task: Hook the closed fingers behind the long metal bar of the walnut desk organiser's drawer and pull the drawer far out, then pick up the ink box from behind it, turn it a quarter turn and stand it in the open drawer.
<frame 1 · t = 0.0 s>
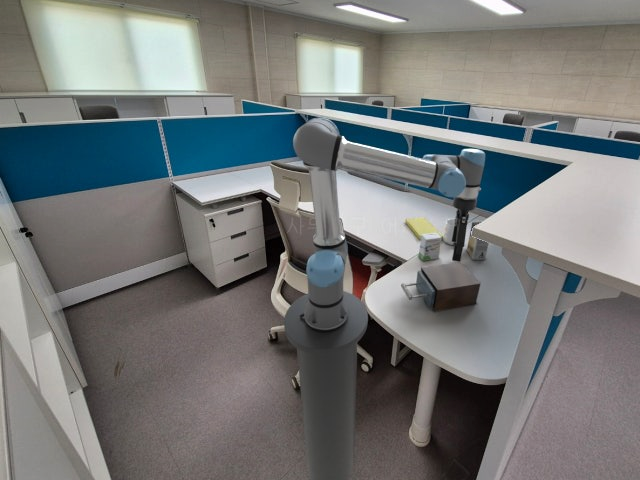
hand: (455, 250, 110), 22 cm above the table, tool pointing down, fingers open, 13 cm apart
yellow flat slab: (423, 231, 170), on the table
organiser: (446, 294, 120), on the table
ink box: (428, 257, 145), on the table
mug: (450, 240, 161), on the table
drawer: (433, 287, 117), point 5 cm above the table, slide at 0.5 cm
coffee box: (475, 255, 149), on the table
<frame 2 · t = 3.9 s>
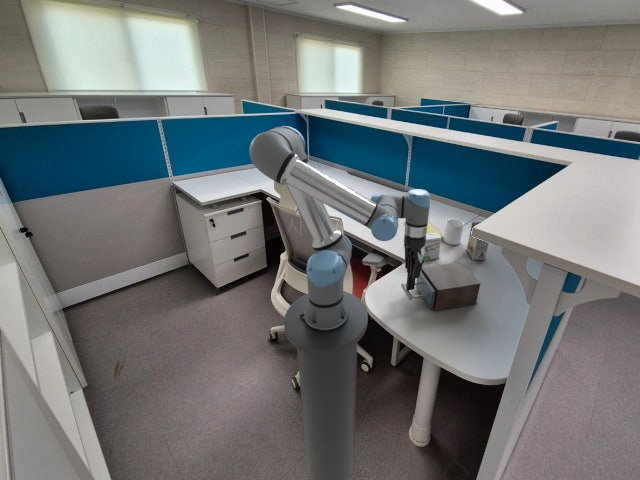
hand: (410, 288, 114), 6 cm above the table, tool pointing down, fingers closed
drawer: (434, 287, 117), point 5 cm above the table, slide at 0.4 cm, touching gripper
everything else where it was.
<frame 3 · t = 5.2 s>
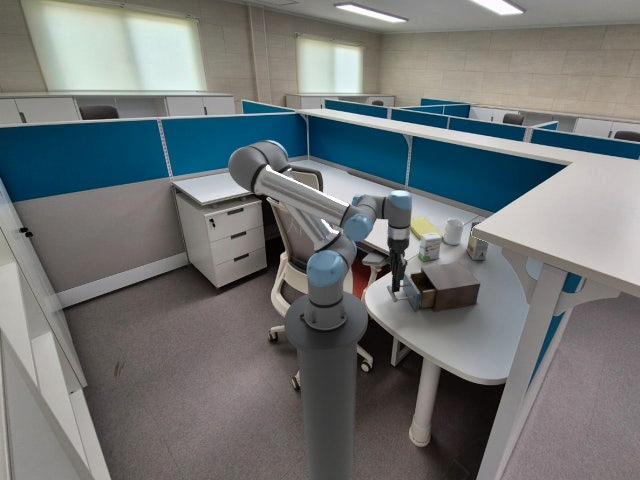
hand: (395, 290, 112), 6 cm above the table, tool pointing down, fingers closed
drawer: (420, 289, 115), point 5 cm above the table, slide at 6.3 cm, touching gripper
everything else where it was.
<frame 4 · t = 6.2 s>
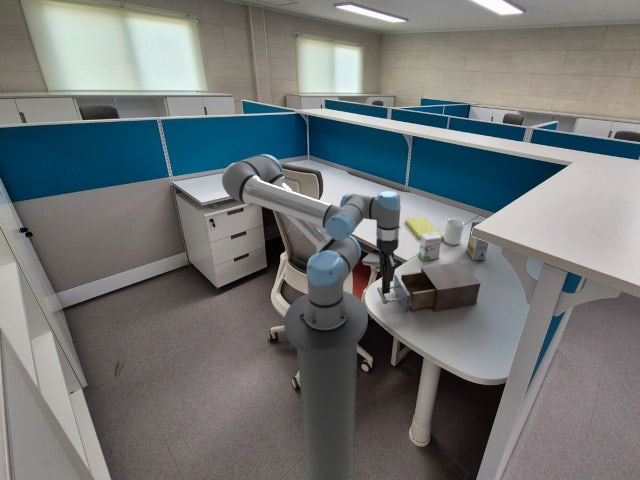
hand: (385, 292, 111), 6 cm above the table, tool pointing down, fingers closed
drawer: (410, 290, 114), point 5 cm above the table, slide at 10.2 cm, touching gripper
everything else where it was.
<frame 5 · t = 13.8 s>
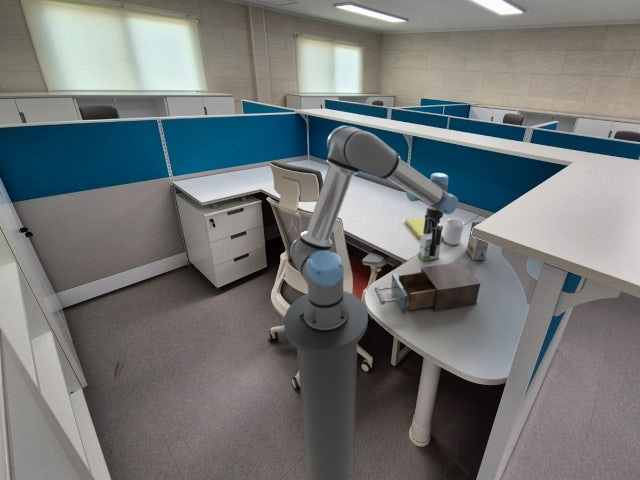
hand: (429, 252, 144), 3 cm above the table, tool pointing down, fingers closed on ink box, 5 cm apart
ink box: (428, 257, 145), on the table, touching gripper
drawer: (408, 291, 114), point 5 cm above the table, slide at 11.1 cm
everything else where it was.
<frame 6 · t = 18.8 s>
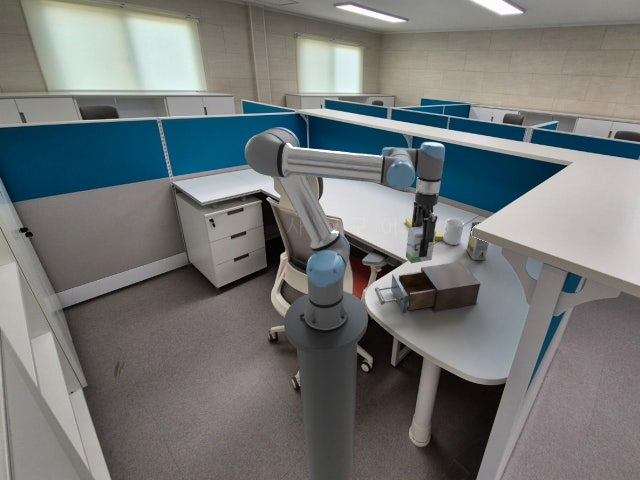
hand: (419, 251, 108), 22 cm above the table, tool pointing down, fingers closed on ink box, 5 cm apart
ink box: (418, 258, 109), point 19 cm above the table, touching gripper
everything else where it was.
when the fingers open (6 cm above the table, at t = 24.0 s): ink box stays where it is, resting on drawer.
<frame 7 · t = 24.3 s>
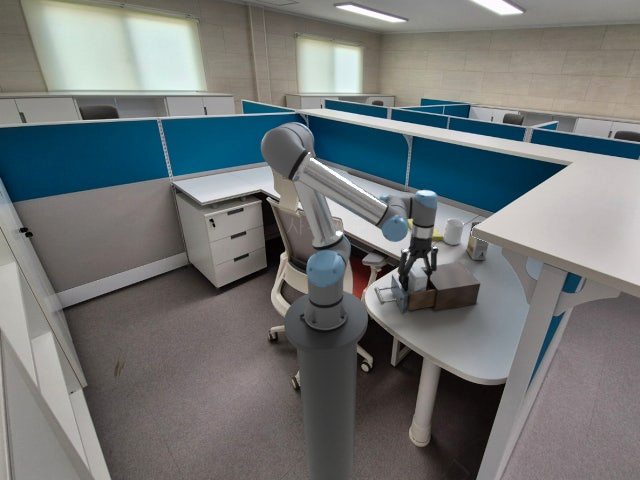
hand: (414, 287, 114), 6 cm above the table, tool pointing down, fingers open, 7 cm apart
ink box: (413, 296, 116), point 2 cm above the table, touching drawer
drawer: (407, 291, 114), point 5 cm above the table, slide at 11.3 cm, touching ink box
everything else where it was.
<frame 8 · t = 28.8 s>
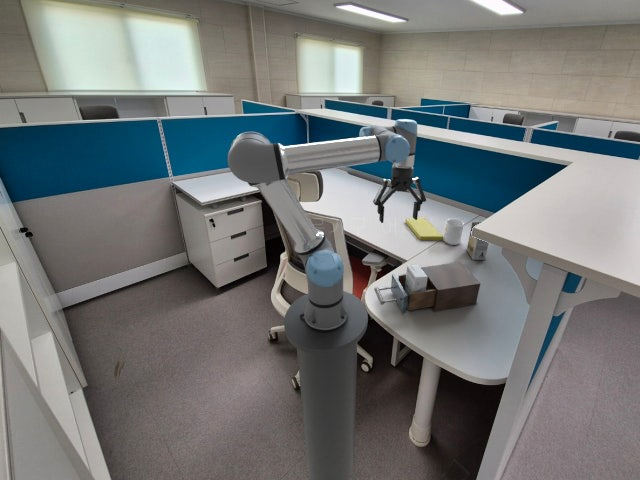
hand: (398, 219, 115), 29 cm above the table, tool pointing down, fingers open, 13 cm apart
nothing on the table moved.
at the end: drawer slide at 11.3 cm; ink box inside the target area in the drawer (0.4 cm from its centre), point 1.8 cm above the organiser's base; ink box tilted 0° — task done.
